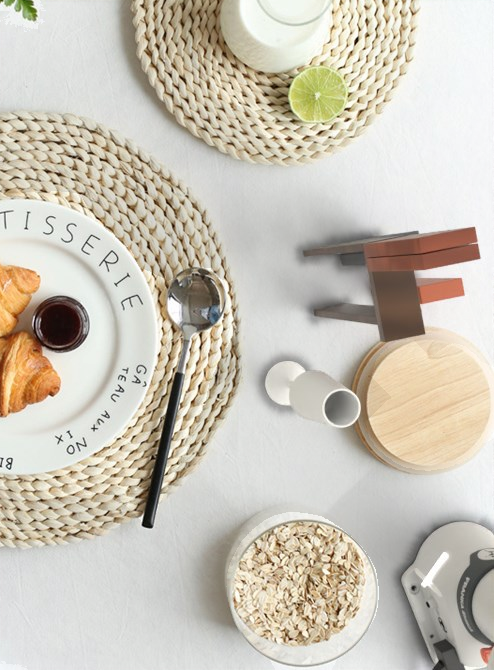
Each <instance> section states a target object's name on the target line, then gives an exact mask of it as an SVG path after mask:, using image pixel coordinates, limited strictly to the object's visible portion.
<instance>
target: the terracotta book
mask: <svg viewBox="0 0 494 670" xmlns="http://www.w3.org/2000/svg"><path fill="white" fill-rule="evenodd" d="M415 279H416V284H417V290H418V295H419V301H420V305H425V304H431V303H436V302H439V301H445V300H451V299H454V298H460V297H464V296H466V294H465V288H464V282H463V277H415Z"/></svg>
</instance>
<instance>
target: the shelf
mask: <svg viewBox="0 0 494 670" xmlns="http://www.w3.org/2000/svg"><path fill="white" fill-rule="evenodd" d="M478 241H479V240H478V235H477V230H476V226H470V227H469V226H468V227H460V228H453V229H445V230H438V231H431V232H430V231H429V232H422V233H419V234H414V235H402V236H397V237H391V238H386V239H381V240H376V241H371V242H366V243H363V249H364V254H365V260H366V265H365V266H366V270H367V276H368V280H369V282H368V283H369V288H370V291H371V297H372V302H373V306H374V309H375V314H376V319H377V325H376V326H377V329H378V335H379V340H380V342H381V343H389V342H395V341H401V340H404V339H405V340H406V339H409V338H414V337H418V336H425V335H426V329H425V324H424V318H423V313H422V307H421V304H420V301H419V295H418V290H417V284H416V279H415V278H416V274H415V272H416V271H427V270H433V269H437V268H438V269H439V268H443V267H448V266H453V265H459V264H463V263H468V262H473V261H478V260H481V258H482V257H481V252H480V247H479V243H478Z"/></svg>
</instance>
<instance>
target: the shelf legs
mask: <svg viewBox="0 0 494 670" xmlns="http://www.w3.org/2000/svg"><path fill="white" fill-rule="evenodd" d="M394 237H397V236H394ZM386 238H391V237H386ZM386 238H379V239H371V240H363V241H356V242H350V241H347V242H348V243H345V242H340V243H333V244H328V245H323V246H317V247H314V248H308V249H304V250H302V255H303V258H308V257H318V256H329V255H340V254H341V253H352V252H362V251H364V249H363V243H366V242H371V241H376V240H381V239H386ZM313 313H314V317H317V318H323V319H324V318H325V319H331V320H339V321H346V322H354V323H358V324H359V323H361V324H367V325H375V326H378V325H377V319H376V314H375V309H374V305H371V304H359V303H346V302H345V303H339V304H335V305H330V306H325V307H320V308H315V309H313Z"/></svg>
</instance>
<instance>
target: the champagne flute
mask: <svg viewBox="0 0 494 670" xmlns="http://www.w3.org/2000/svg"><path fill="white" fill-rule="evenodd" d="M264 387H265V391H266V393H267V395H268V397H269V398H270V399H271V400H272V401H273V402H274V403H276V404H278V405H281V406H291V409H292V410H293V411H294V413H295V414H297V416H298V417H300V418H302V419H304V420H307V421H310V422H315V423H319V424H323V425H326V426H330V427H334V428H342V429H343V428H347V427H350V426H352V425H353V424H355V423H356V422H357V421H358V418H359V416H360V414H361V409H362V408H361V406H362V405H361V401H360V399H359V397H358V396H357V394H355V392H354V391H352V390H351V389H349V388H348V387H346V386H345V385H344V384H342V383H341V382H339V381H338V380H336V379H335V378H333V377H332V376H331V375H329V374H328V373H326V372H324V371H322V370H317V369H316V370H315V369H313V370H307V371H306V370H305V368H304V367H303V366H302V365H301V364H299V363H297V362H296V361H292V360H283V361H279V362H277V363H275V364H274V365H273V366H271V368H270V369H269V370H268V371H267V374H266V376H265V380H264Z"/></svg>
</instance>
